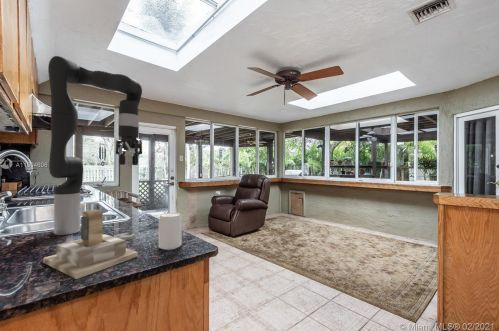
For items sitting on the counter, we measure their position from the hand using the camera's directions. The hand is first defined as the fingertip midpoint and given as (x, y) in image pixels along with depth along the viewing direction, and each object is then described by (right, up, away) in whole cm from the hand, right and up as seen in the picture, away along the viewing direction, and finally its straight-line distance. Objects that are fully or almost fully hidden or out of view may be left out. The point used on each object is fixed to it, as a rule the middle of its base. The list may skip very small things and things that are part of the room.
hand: (128, 164), depth 99 cm
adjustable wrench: (-7, -31, -8) cm, 32 cm away
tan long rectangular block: (0, -29, -23) cm, 37 cm away
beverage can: (+21, -31, -11) cm, 39 cm away
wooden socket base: (0, -30, -23) cm, 38 cm away
